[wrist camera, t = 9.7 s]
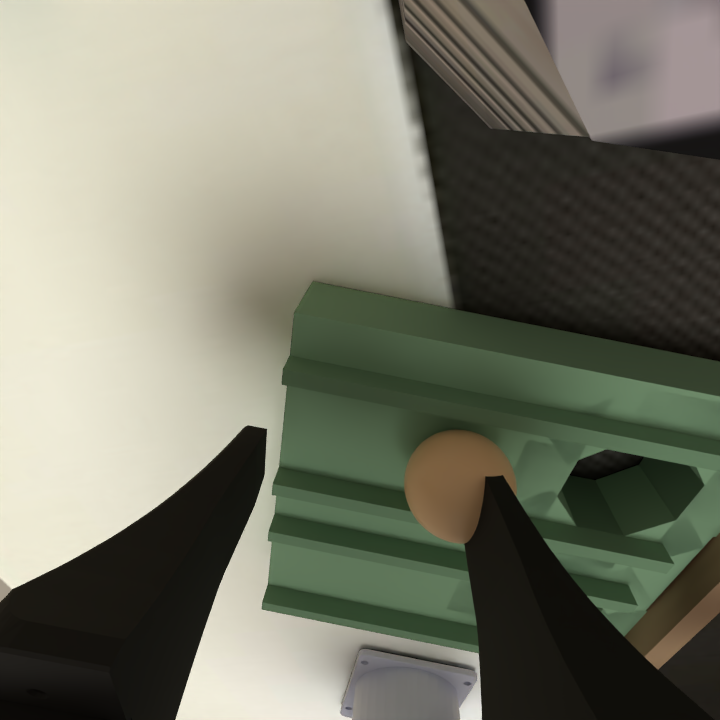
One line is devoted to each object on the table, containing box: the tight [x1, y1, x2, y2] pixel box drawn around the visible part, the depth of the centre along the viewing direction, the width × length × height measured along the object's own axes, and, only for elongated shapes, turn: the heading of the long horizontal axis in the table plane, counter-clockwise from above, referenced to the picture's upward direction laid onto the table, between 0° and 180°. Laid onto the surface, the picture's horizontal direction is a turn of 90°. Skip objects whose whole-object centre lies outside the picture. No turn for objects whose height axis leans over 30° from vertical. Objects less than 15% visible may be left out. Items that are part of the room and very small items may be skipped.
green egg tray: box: [262, 281, 720, 653], centre depth 19 cm, size 17×17×4 cm
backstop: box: [624, 533, 720, 669], centre depth 18 cm, size 17×1×4 cm, turn 170°
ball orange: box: [404, 429, 517, 544], centre depth 14 cm, size 4×4×4 cm
